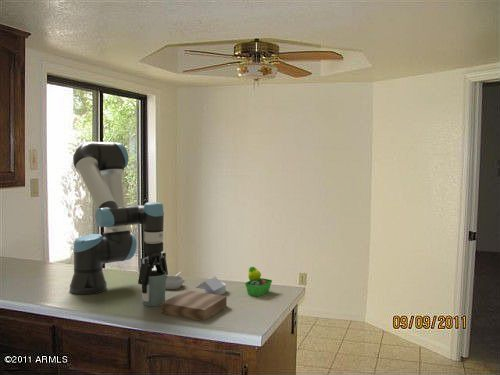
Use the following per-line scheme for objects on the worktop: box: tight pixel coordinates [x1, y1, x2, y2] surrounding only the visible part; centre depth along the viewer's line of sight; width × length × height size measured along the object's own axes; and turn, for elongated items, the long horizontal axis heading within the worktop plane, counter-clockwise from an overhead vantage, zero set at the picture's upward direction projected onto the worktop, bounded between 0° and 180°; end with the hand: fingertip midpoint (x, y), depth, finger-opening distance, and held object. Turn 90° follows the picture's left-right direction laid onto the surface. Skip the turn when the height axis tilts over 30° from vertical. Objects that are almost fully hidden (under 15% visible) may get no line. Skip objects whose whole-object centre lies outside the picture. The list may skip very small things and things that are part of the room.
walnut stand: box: [161, 289, 228, 322], centre depth 180 cm, size 18×18×4 cm
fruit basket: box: [244, 266, 273, 297], centre depth 203 cm, size 11×9×11 cm
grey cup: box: [142, 269, 167, 307], centre depth 187 cm, size 10×10×12 cm
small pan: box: [165, 271, 184, 290], centre depth 214 cm, size 11×18×4 cm, turn 168°
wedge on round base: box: [195, 276, 227, 295], centre depth 201 cm, size 9×7×13 cm
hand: (153, 297), depth 187 cm, fingers closed on grey cup, 10 cm apart
